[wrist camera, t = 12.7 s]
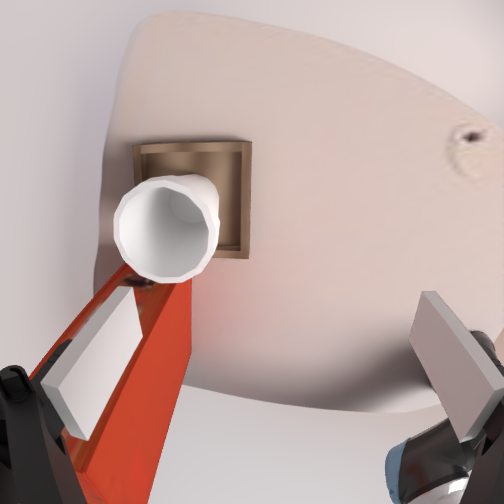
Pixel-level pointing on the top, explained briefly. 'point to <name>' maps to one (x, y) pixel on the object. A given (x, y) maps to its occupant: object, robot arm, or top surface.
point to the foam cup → (168, 227)
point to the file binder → (134, 393)
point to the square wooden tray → (218, 172)
